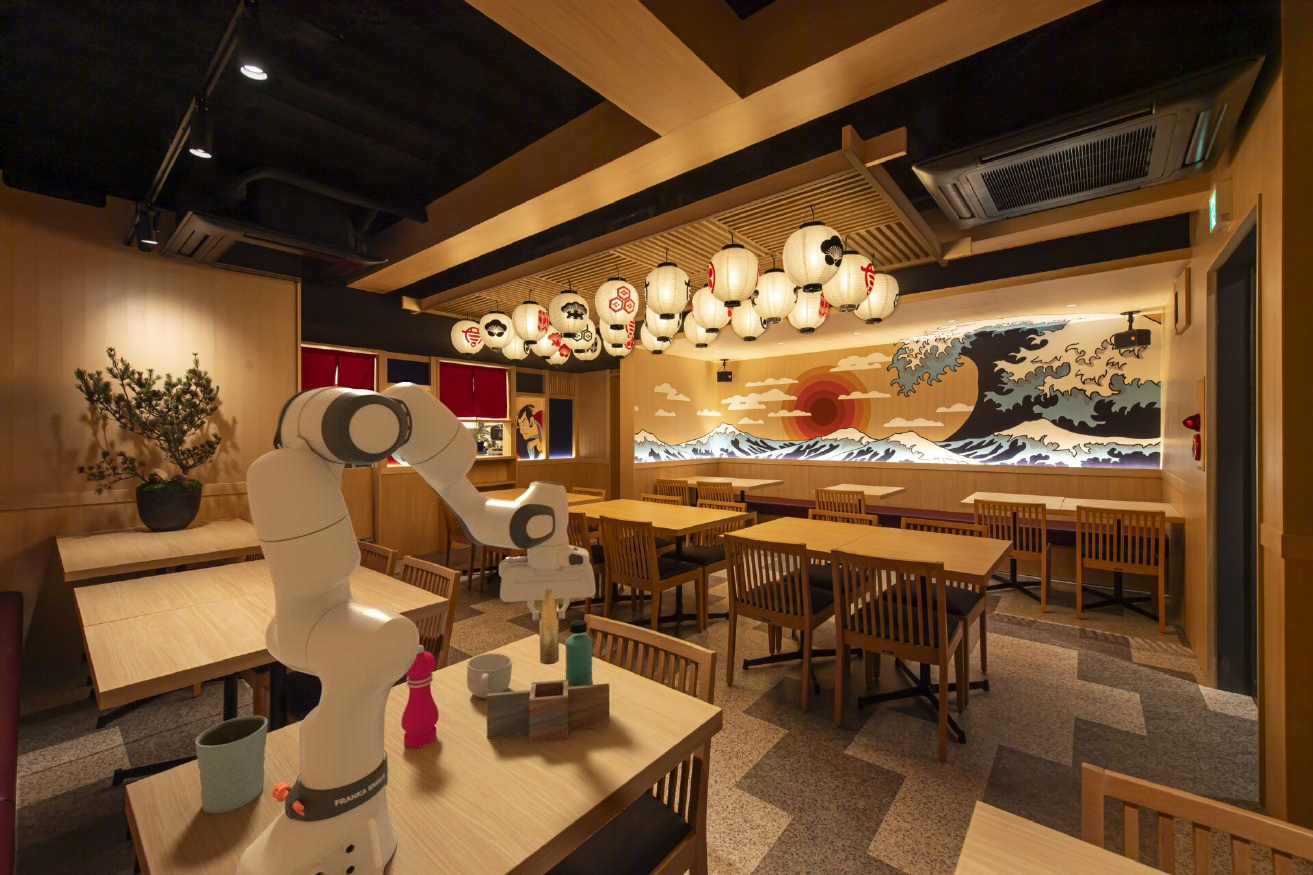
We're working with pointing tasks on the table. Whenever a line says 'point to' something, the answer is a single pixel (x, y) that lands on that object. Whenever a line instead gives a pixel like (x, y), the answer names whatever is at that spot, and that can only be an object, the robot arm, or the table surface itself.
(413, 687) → the pepper mill
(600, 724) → the brown winged open box
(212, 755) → the green oval vase
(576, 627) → the beverage bottle
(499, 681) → the teacup
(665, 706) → the table surface
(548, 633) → the brass pin
